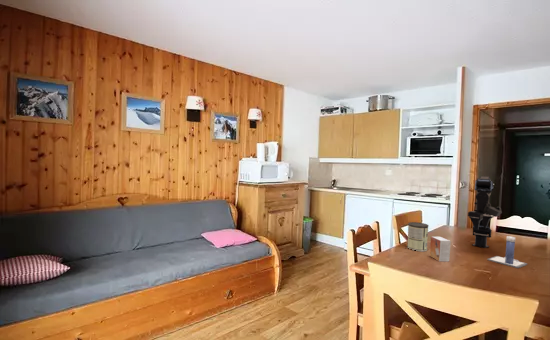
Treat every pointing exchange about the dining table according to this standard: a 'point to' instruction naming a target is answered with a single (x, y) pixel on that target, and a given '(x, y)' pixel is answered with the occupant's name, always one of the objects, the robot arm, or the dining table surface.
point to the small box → (440, 248)
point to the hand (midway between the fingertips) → (480, 229)
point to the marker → (510, 250)
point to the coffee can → (417, 236)
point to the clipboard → (502, 261)
